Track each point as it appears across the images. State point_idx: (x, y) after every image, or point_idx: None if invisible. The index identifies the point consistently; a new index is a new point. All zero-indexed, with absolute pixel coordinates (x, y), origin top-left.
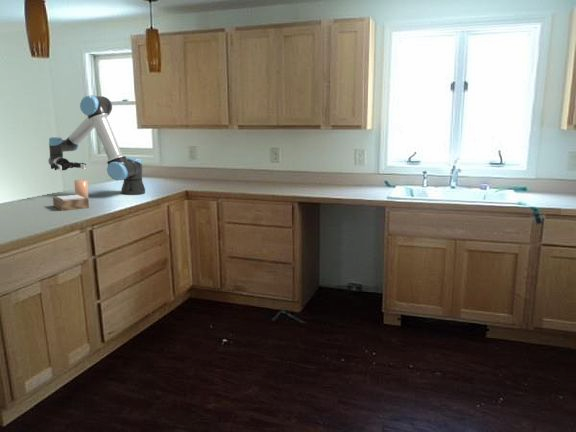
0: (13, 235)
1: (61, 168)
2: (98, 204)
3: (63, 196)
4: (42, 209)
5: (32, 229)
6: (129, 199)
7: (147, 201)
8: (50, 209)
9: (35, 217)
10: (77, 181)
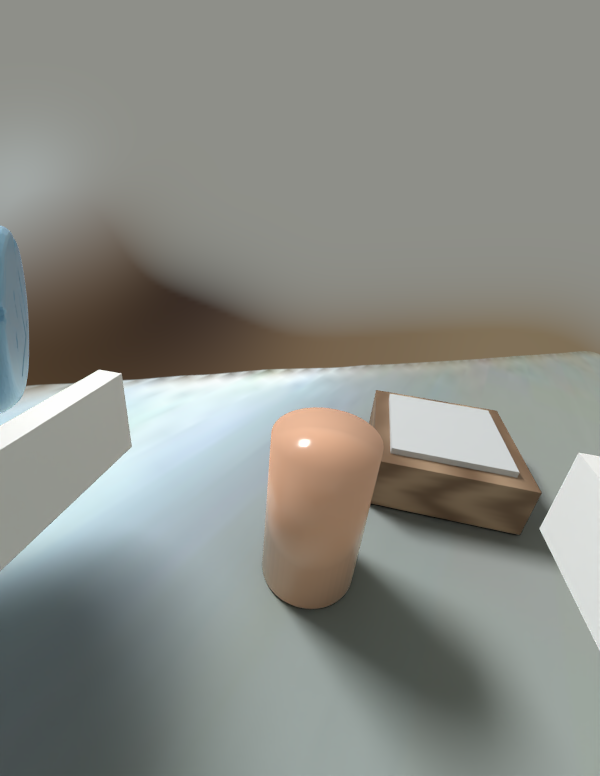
0: (595, 365)
1: (562, 499)
2: None
3: (478, 453)
4: None
5: (562, 371)
6: None
7: None
8: None
9: (580, 432)
10: (368, 428)
